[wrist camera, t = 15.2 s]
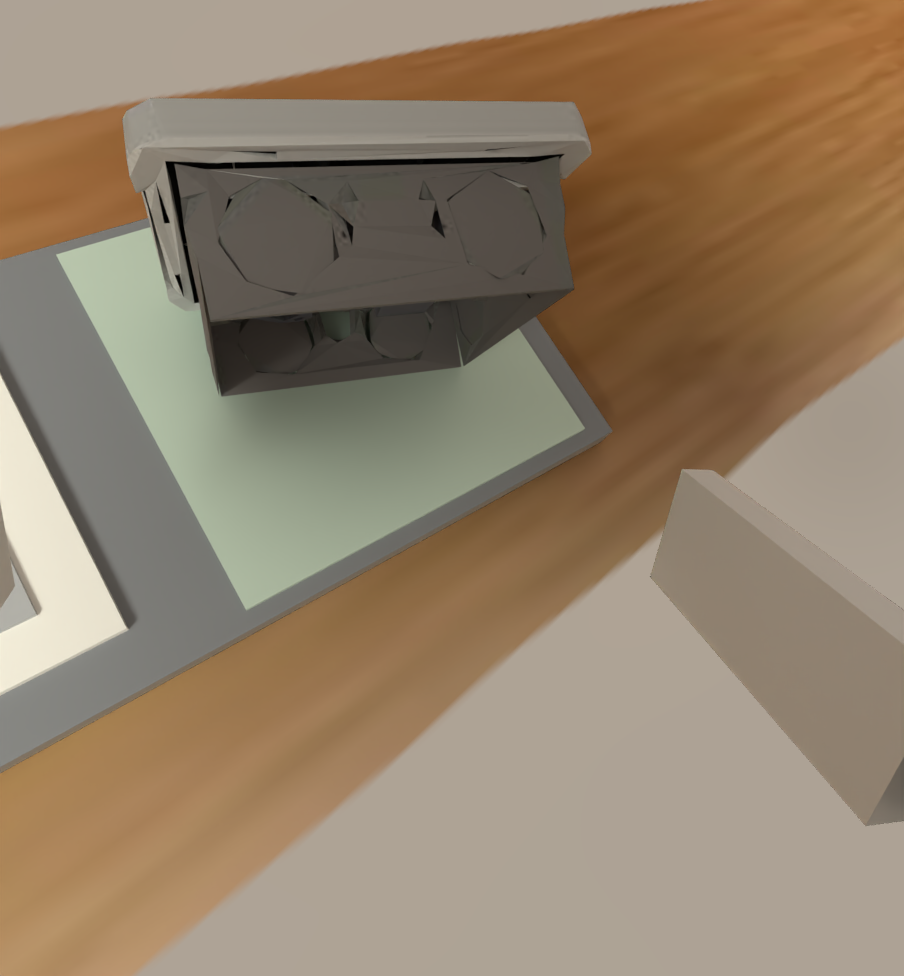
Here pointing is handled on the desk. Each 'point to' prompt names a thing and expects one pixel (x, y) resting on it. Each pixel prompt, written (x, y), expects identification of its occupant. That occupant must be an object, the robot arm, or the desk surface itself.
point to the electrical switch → (354, 227)
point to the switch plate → (216, 477)
